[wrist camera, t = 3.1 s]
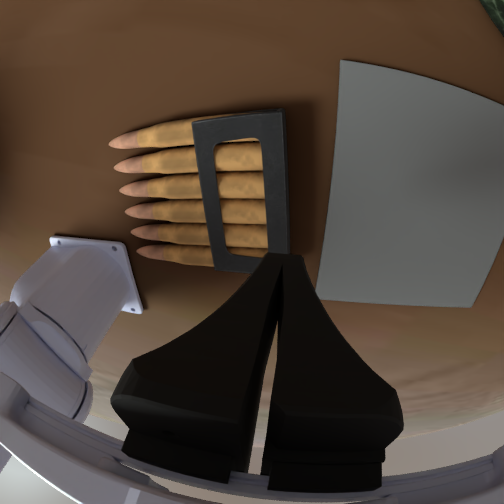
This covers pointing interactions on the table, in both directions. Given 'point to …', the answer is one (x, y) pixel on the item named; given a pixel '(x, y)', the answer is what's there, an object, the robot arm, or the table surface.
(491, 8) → the goblet
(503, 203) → the mat
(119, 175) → the table surface
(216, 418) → the robot arm
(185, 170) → the ammunition clip
